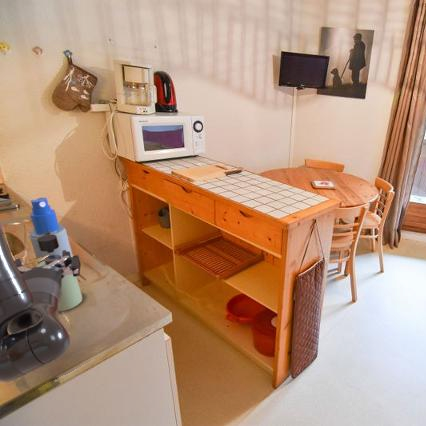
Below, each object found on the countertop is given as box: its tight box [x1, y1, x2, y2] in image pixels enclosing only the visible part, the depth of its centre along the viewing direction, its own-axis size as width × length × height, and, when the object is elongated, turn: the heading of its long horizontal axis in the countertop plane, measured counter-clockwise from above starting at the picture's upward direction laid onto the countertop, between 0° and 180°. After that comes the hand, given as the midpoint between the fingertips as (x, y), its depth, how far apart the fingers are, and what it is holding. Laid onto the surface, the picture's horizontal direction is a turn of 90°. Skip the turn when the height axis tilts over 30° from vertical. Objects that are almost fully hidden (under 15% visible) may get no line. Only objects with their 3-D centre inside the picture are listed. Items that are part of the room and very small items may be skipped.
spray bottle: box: [29, 197, 74, 265], centre depth 101 cm, size 9×9×25 cm
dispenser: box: [35, 255, 83, 313], centre depth 89 cm, size 8×8×15 cm
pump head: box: [37, 231, 59, 253], centre depth 86 cm, size 7×4×4 cm, turn 35°
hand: (42, 257), depth 76 cm, fingers open, 8 cm apart
